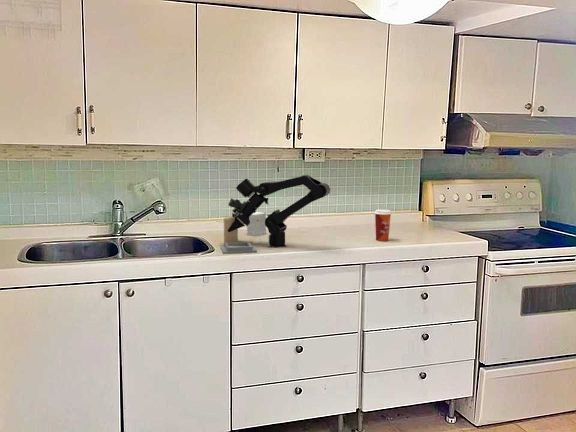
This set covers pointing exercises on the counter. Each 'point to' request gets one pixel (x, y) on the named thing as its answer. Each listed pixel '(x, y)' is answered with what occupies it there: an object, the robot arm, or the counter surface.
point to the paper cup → (382, 224)
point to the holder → (238, 248)
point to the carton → (229, 236)
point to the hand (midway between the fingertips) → (227, 230)
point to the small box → (257, 224)
